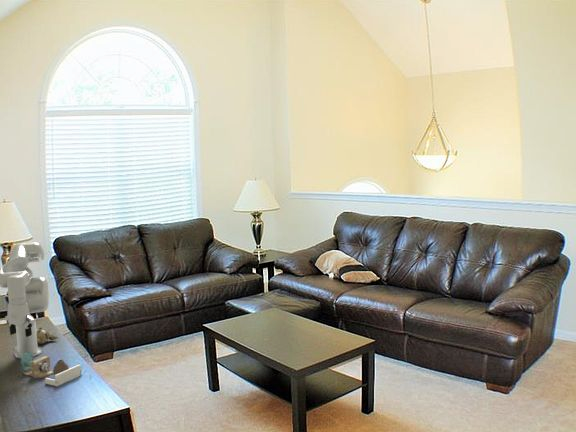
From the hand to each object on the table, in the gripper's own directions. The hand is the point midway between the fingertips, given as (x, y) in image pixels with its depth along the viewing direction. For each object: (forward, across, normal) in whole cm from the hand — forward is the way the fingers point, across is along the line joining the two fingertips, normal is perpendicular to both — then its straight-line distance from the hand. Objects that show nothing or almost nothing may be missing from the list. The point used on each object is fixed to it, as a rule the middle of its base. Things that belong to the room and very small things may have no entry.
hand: (21, 334), depth 276 cm
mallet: (+16, +10, -2) cm, 19 cm away
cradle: (+17, +28, -4) cm, 33 cm away
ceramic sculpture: (+20, -23, +36) cm, 47 cm away
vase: (+17, +27, -4) cm, 32 cm away
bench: (+17, +11, -2) cm, 21 cm away
